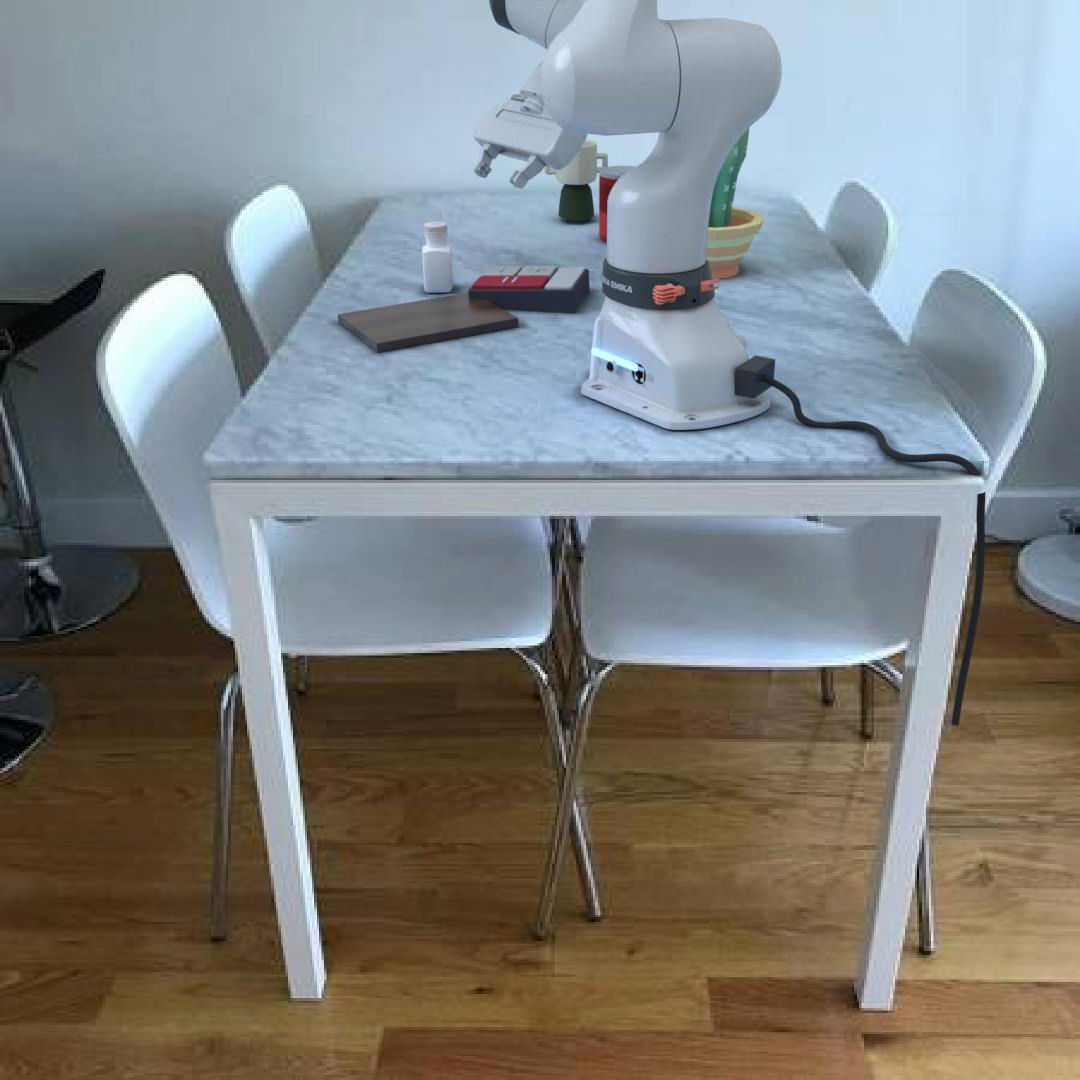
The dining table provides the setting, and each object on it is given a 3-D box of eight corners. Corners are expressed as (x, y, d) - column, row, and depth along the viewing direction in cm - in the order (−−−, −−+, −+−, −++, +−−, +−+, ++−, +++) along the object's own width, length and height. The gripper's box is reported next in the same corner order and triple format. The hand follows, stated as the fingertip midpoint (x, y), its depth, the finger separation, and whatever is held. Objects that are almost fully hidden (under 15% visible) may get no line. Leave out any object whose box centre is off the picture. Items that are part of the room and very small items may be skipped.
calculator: (487, 263, 178) (589, 263, 175) (489, 292, 180) (590, 292, 177) (466, 284, 169) (573, 285, 165) (469, 315, 171) (575, 316, 167)
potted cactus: (754, 256, 191) (765, 87, 180) (767, 284, 178) (780, 103, 166) (654, 257, 192) (659, 88, 180) (660, 285, 178) (665, 104, 167)
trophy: (604, 214, 218) (605, 138, 211) (610, 224, 211) (611, 145, 205) (543, 216, 217) (542, 140, 211) (546, 226, 211) (545, 147, 204)
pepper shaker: (452, 293, 176) (448, 227, 172) (424, 294, 176) (420, 227, 172) (453, 285, 180) (450, 220, 175) (426, 286, 180) (422, 220, 175)
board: (518, 326, 162) (518, 318, 162) (377, 352, 154) (376, 343, 153) (472, 300, 173) (472, 291, 173) (338, 322, 165) (337, 314, 164)
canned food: (610, 246, 198) (611, 177, 193) (591, 235, 204) (591, 167, 199) (653, 241, 200) (655, 172, 195) (632, 230, 207) (634, 163, 202)
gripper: (497, 79, 182) (444, 155, 182) (580, 94, 168) (523, 177, 167) (522, 107, 187) (471, 182, 186) (606, 125, 172) (550, 205, 172)
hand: (496, 180), depth 177 cm, fingers open, 8 cm apart
